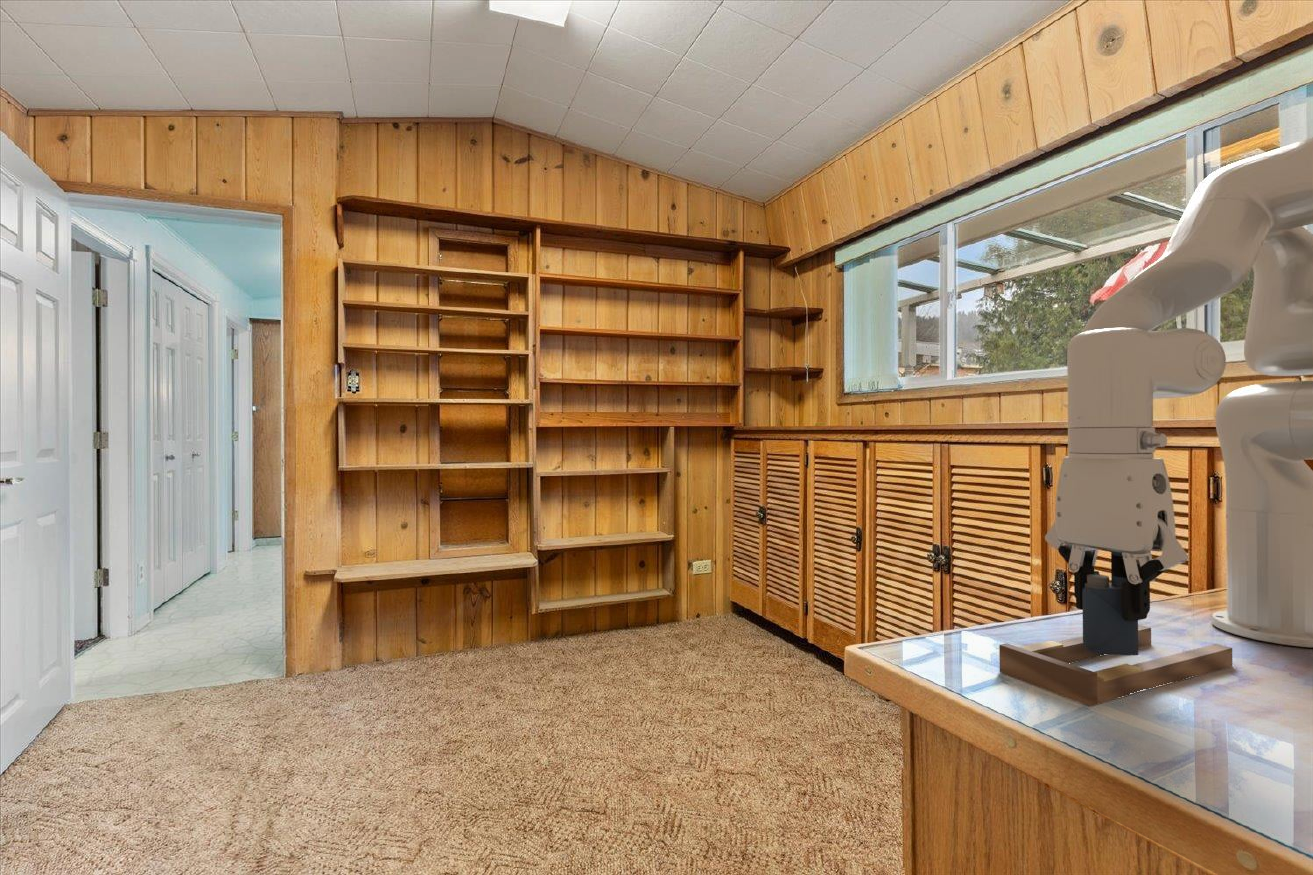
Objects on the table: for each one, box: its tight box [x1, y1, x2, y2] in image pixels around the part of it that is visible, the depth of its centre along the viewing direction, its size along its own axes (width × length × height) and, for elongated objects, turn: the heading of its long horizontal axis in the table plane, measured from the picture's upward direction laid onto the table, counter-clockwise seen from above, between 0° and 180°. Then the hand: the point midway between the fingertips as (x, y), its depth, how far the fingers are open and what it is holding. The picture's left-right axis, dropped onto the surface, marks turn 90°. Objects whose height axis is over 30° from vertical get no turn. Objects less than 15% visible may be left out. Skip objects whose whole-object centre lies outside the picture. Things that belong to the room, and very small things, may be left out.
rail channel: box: [998, 624, 1233, 707], centre depth 69 cm, size 24×10×3 cm, turn 113°
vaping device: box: [1082, 551, 1139, 657], centre depth 69 cm, size 3×5×12 cm, turn 78°
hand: (1110, 611), depth 69 cm, fingers closed on vaping device, 4 cm apart
